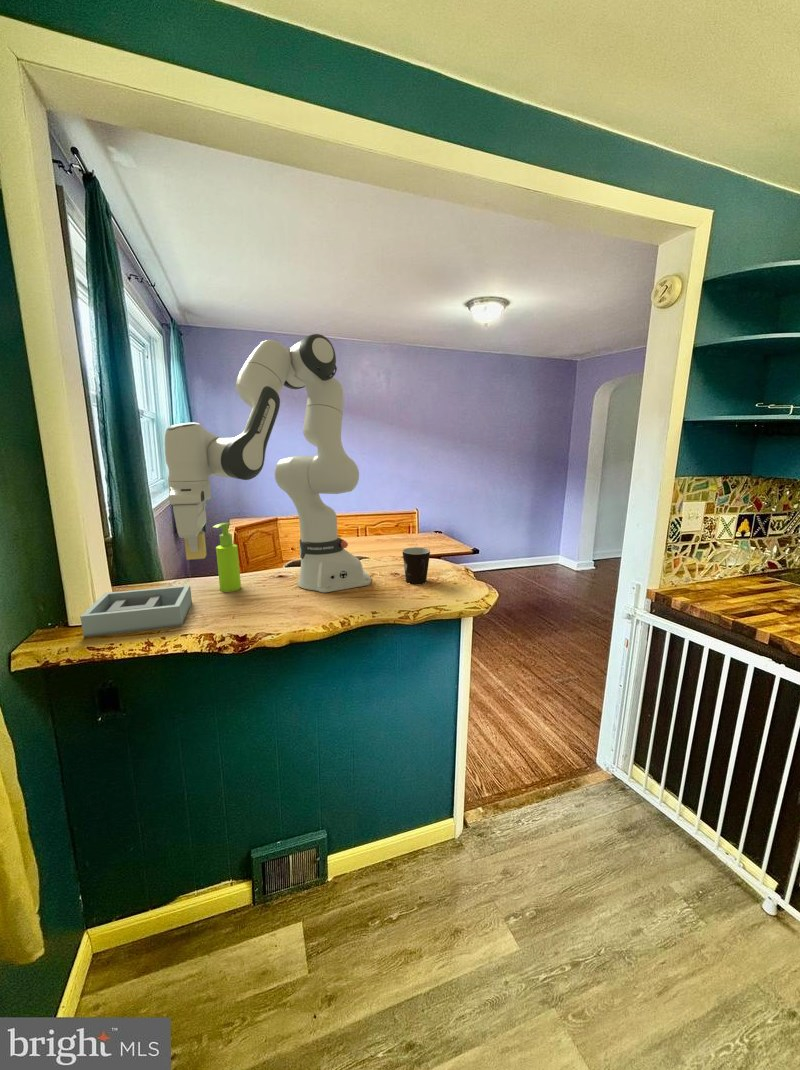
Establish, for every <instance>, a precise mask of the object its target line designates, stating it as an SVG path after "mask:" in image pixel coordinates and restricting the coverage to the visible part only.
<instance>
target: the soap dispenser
mask: <svg viewBox="0 0 800 1070" xmlns="http://www.w3.org/2000/svg"><path fill="white" fill-rule="evenodd" d="M229 526H231V522H221V523H218V524H215V525H213V526H212V529H221V534H219V542H220V543H219V544H220V545H217V546H215V552H216V562H217V571H218V573H217V574H218V583H219V590H220V591H221V592H226V593H229V592H234V591H235V592H236V591H238V590H241V588H242V584H241V572H240V559H239V550H238V545H237V544H235V543H234V541H233V534H232V533H230V532H229Z"/></svg>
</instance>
